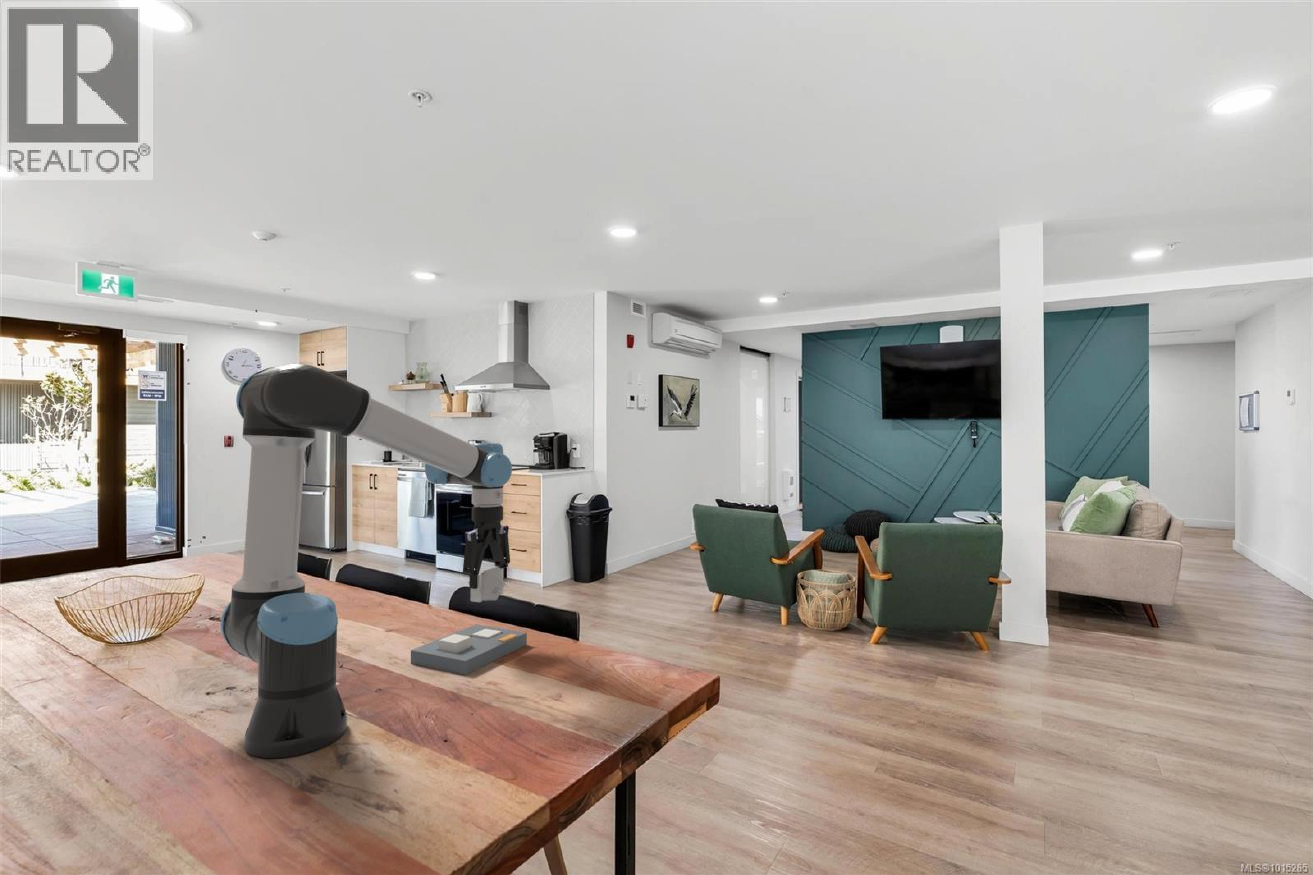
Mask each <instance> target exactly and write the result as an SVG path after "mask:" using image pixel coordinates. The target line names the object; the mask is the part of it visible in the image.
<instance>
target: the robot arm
mask: <svg viewBox="0 0 1313 875" xmlns="http://www.w3.org/2000/svg"><path fill="white" fill-rule="evenodd" d="M235 400H236V407H237V411H238V413H239V415H240V417H241V418H242V419H243V420H242V421H243V424H242V438H243V439H244V440H245V441H246V442H247V443H248V444H249V445H250V447H251V450H250V451H251V452H250V453H251V454H250V466H249V479H248V480H249V482H248V492H247V494H248V496H247V497H248V498H247V509H246V510H247V511H246V525H245V538H244V539H245V540H244V554H243V567H242V568H243V570H242V576H241V578H240V579H238V581H236V582H235V583H234V584H233V585H232V586H231V597H230V598H231V599H230V602H229V603H228V604H227V606H225V609H224V610H223V612H222V616H221V619H220V631H221V635H222V638H223V639H224V641H225V642H226V644H227V645H228V646H229V647H230V648H231V650H233V651H234V652H236V653H238V655H241V656H242V657H246V658H248V659H250V660H251V661H253V662H255V663H256V664H257V665H258V666H257V672H258V674H257V700H256V703H255V706H254V708H253V711H252V714H251V718H250V720H249V723H248V727H247V729H246V731H245V734H244V750H245V752H246V753H247V754H249V755H251V756H252V757H256V758H261V759H281V758H288V757H290V758H291V757H295V756H298V755H299V756H300V755H303V754H308V753H310V752H313V751H316V750H319V749H321V748H324V747H326V746H329V745H330V744H332V743H334V742H335V741H337V740H338V739H339V738H341V737H342V736H343V735H344V733H346V731H347V729H348V715H347V712H346V707H345V706H344V703H343V700H342V697H341V694H340V691H339V689H338V687H337V655H338V654H337V652H338V651H337V650H338V649H337V648H338V646H337V645H338V644H337V643H338V642H337V641H338V640H337V639H338V626H339V625H338V624H339V618H338V614H337V605H336V602H334V601H333V600H332V599H331V598H330V597H328V596H326V595H323V594H319V593H310V592H306V581H305V580H304V579H303V578H301V576H299V575H298V559H299V558H298V557H299V545H300V544H299V543H300V528H301V513H302V500H303V499H302V498H303V485H304V484H303V482H304V471H305V470H304V468H305V467H304V466H305V465H304V464H305V452H306V451H305V450H306V448H308V446H309V445H311V444H312V443H313V442H314V441H315V438H316V430H319V431H324V432H327V433H332V434H334V435H337V436H340V437H343V438H348V437H351V436H354V437H358V438H359V439H362V440H364V441H367V442H371V443H373V444H376V445H378V446H381V447H382V448H385V449H388V450H390V451H393V452H395V453H398V454H400V455H402V456H405V457H408V458H411V459H413V460H416V461H418V462H420V463H423V464H424V472H425V476H426V479H427V480H428V481H429V483H431V484H433V485H443V486H445V485H451V484H453V485H465V486H471V504H472V505H473V506H472V507H471V520H472V522H473V523H474V527H473V530H471V531H466V532H464V538H465V547H464V555H463V565H462V573H463V574H465V575H468V576H469V580H468V582H470V583H468V585H469V589H470V602H473V603H474V602H475V603H482V601H481V585H482V575H480V574H479V571H480V568H481V567H482V563H483V560H484V556H485V552H486V549H487V548H488V547H489V548H490V552H491V556H492V558H493V563H494V567H497V566H498V567H499V570H500V572H501V575H502V578H503V580H504V579H505V568H506V569H507V568H508V567H509V564H510V562H511V556H510V555H511V554H510V543H509V530H510V529H509V528H510V526H508V525H502V524H501V522H502V521H503V519H504V506H503V505H502V504H503V503H504V485H506V484H507V483H508V482H509V481H510V479H511V477H512V473H513V464H512V462H511V460H510V458H509V457H508V456H507V455H505V454H504V449H503V448H504V446H503V445H502V444H501V443H499V442H497V443H493V442H492V443H490V442H489V443H488V442H487V443H485V442H484V443H481V442H478V443H477V442H475V443H473V444H472V443H470V442H467V441H464V440H462V439H461V438H459V437H456V436H454V435H452V434H450V433H447V432H445V431H443V430H441V429H438V428H437V427H434V426H432V425H430V424H428V423H426V422H423V421H421V420H419V419H417V418H415V417H413V416H410V415H408V414H406V413H403V412H402V411H399V410H398V409H396V408H393V407H391V406H388V405H386V404H384V403H382V402H380V401H379V400H376V399H373V398H372V395H371V393H370V391H369V390H367V389H365V388H362V387H361V386H358V385H357V384H354V383H352V382H350V381H349V380H346V379H345V378H342V377H340V376H338V375H336V374H334V373H332V372H330V371H327V370H325V369H323V368H320V367H316V366H314V365H310V364H304V363H293V364H288V365H283V366H277V367H275V366H273V367H266V368H263V369H260V370H258V371H256V372H254V373H253V374H251V375H249V376H247V378H245V379H244V381H243V382H242V383H241V384H240V385H239V387H238V391H237V394H236V399H235ZM503 594H504V588H503V589H502V591H501V593H500V594H499V595H503Z"/></svg>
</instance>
